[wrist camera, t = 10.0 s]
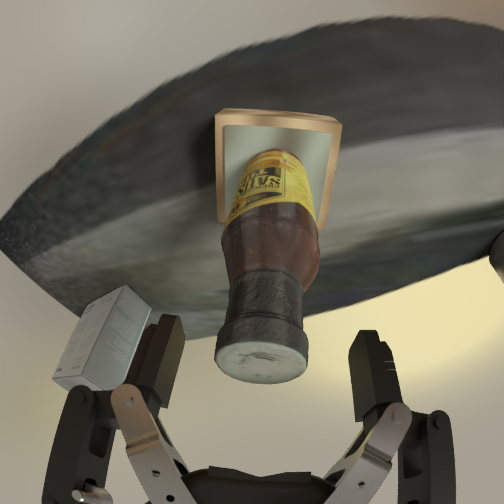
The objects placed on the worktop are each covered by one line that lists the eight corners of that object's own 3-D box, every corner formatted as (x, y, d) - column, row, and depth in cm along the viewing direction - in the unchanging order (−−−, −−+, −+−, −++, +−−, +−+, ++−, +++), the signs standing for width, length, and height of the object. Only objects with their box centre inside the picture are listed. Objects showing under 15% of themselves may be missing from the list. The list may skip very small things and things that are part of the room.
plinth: (332, 116, 27) (343, 125, 22) (318, 209, 34) (324, 232, 30) (224, 108, 27) (214, 115, 23) (224, 202, 34) (216, 224, 30)
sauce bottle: (273, 132, 24) (268, 285, 8) (319, 176, 26) (374, 358, 10) (228, 178, 27) (163, 357, 11) (273, 216, 29) (266, 402, 13)
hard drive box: (112, 325, 55) (80, 399, 39) (88, 303, 51) (49, 378, 35) (153, 308, 49) (119, 401, 33) (125, 281, 45) (79, 375, 29)
